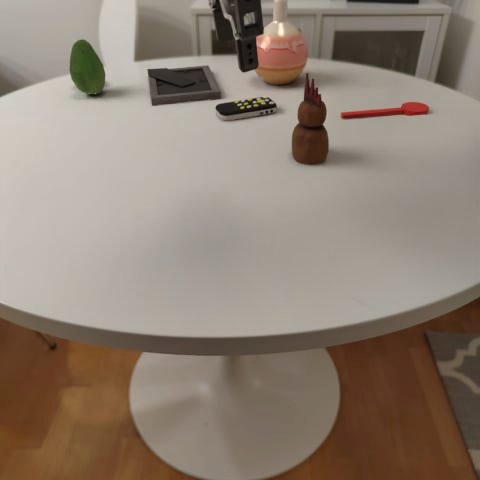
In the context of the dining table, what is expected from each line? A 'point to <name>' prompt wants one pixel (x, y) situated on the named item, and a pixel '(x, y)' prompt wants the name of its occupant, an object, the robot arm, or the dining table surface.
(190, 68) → the picture frame
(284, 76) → the vase
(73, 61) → the avocado
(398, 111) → the red spoon
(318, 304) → the dining table surface
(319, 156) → the wooden figurine
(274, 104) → the remote control
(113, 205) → the dining table surface
